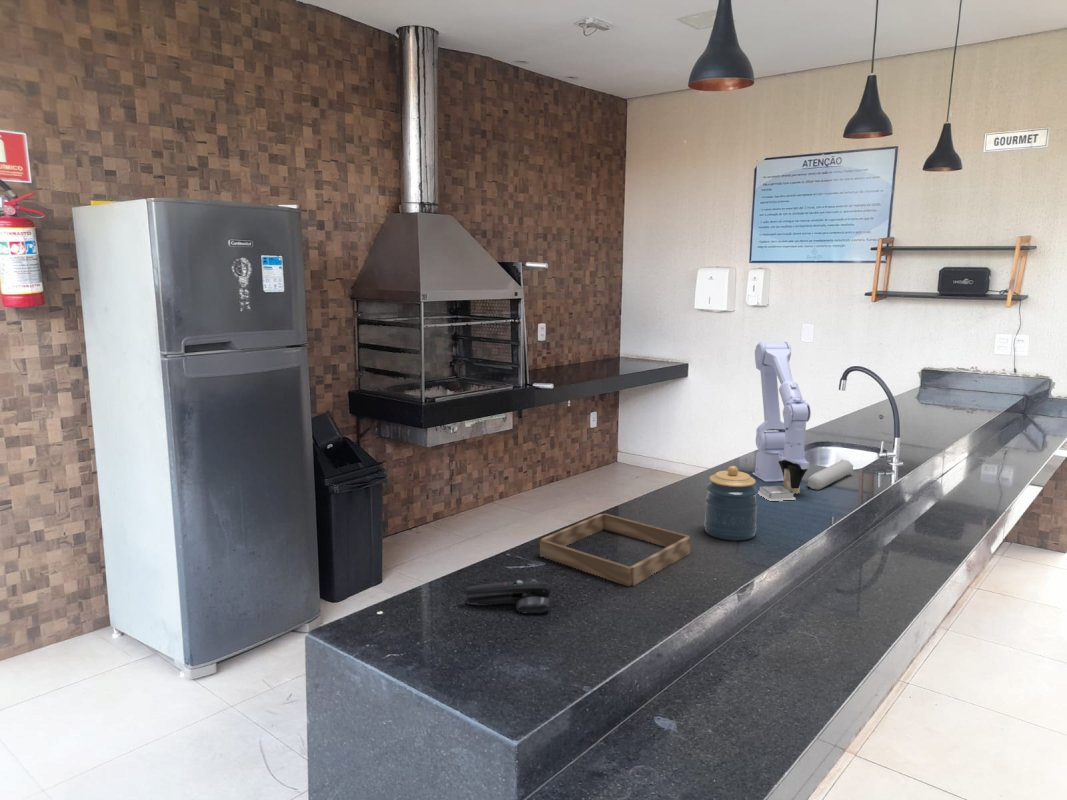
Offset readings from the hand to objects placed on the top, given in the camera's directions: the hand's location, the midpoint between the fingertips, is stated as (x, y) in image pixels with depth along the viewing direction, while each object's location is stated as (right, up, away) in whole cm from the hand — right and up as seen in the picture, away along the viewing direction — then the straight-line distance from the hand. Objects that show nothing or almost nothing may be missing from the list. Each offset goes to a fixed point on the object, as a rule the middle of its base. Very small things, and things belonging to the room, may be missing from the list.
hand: (791, 486), depth 223 cm
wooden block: (0, -2, 0) cm, 2 cm away
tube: (+16, 0, +12) cm, 20 cm away
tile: (-6, -3, -5) cm, 8 cm away
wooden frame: (-59, -10, -49) cm, 77 cm away
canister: (-28, -8, -34) cm, 45 cm away
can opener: (-83, -16, -75) cm, 114 cm away
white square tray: (-6, -3, -5) cm, 8 cm away
